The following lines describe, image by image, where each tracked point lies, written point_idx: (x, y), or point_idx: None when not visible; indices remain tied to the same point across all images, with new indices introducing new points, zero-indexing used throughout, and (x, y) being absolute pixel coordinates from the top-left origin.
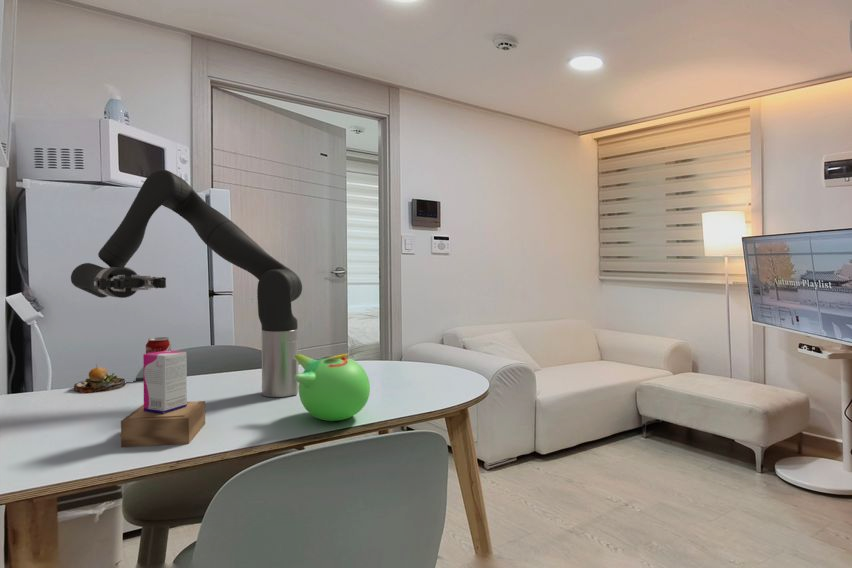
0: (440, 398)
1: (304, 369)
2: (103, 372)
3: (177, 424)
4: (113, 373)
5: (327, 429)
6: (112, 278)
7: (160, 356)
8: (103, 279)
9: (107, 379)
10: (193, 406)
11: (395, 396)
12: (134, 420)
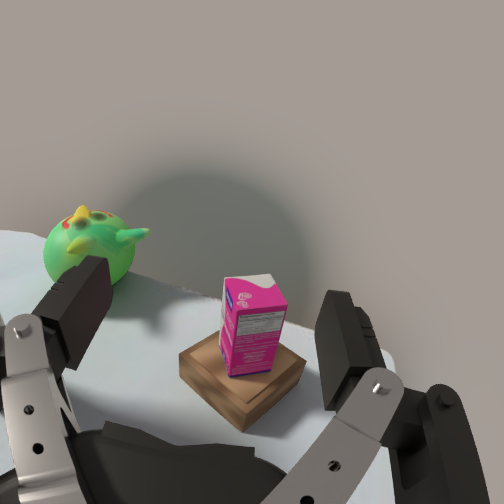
0: (12, 243)
1: (90, 251)
2: None
3: None
4: None
5: (129, 272)
6: (386, 377)
7: (273, 279)
8: (436, 388)
9: None
10: (212, 340)
11: (5, 270)
12: (292, 352)
